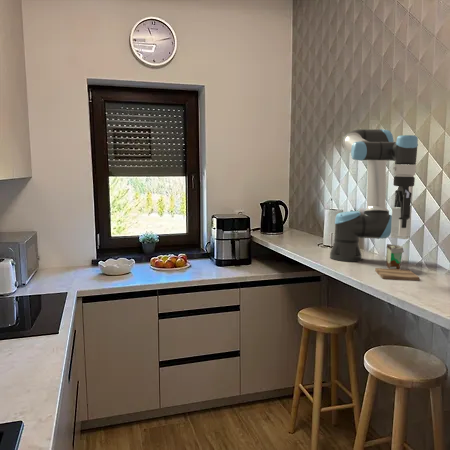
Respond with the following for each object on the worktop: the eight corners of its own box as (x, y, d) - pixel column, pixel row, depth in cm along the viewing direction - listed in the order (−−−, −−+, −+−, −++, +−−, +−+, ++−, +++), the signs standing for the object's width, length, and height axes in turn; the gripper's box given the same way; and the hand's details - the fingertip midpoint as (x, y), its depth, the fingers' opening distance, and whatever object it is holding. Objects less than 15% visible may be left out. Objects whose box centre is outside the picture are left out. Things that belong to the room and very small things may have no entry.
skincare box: (409, 238, 165) (412, 208, 164) (405, 239, 162) (407, 208, 160) (394, 236, 169) (396, 206, 168) (389, 237, 166) (391, 207, 164)
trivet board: (375, 270, 182) (375, 268, 182) (408, 272, 180) (409, 269, 180) (382, 278, 168) (382, 275, 168) (419, 280, 166) (419, 277, 166)
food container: (405, 272, 181) (406, 249, 180) (390, 271, 182) (391, 248, 181) (399, 265, 193) (400, 244, 192) (385, 265, 194) (386, 243, 193)
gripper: (388, 175, 172) (384, 230, 176) (401, 176, 153) (396, 238, 157) (407, 175, 171) (403, 230, 175) (422, 176, 152) (417, 239, 155)
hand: (399, 234), depth 166 cm, fingers closed on skincare box, 7 cm apart
